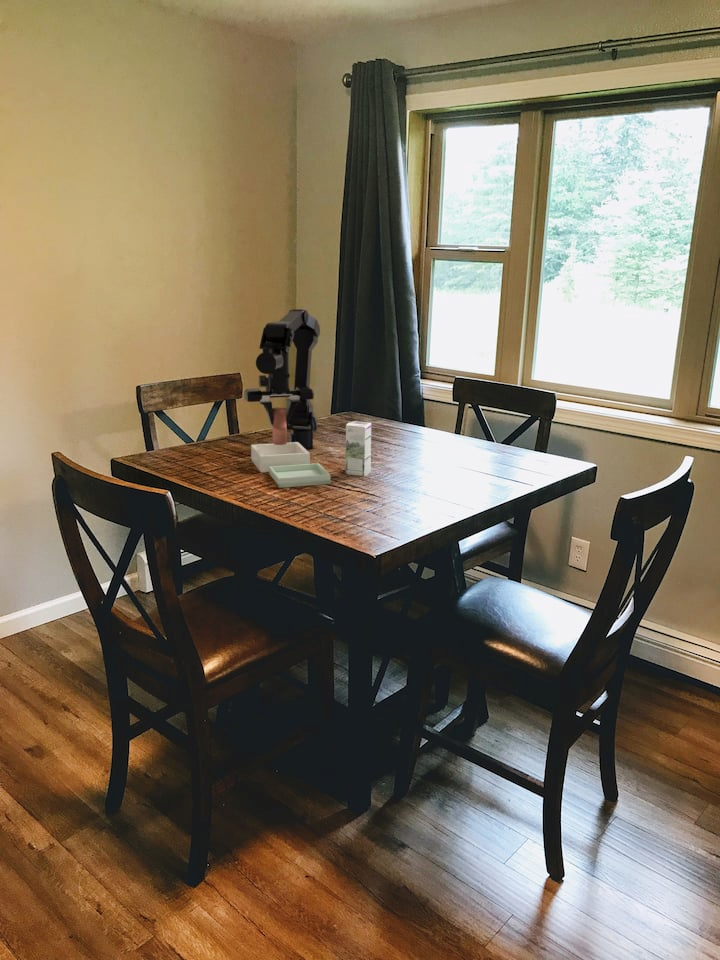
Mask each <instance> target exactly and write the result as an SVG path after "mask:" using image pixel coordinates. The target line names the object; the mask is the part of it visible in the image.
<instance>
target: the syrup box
mask: <svg viewBox="0 0 720 960" xmlns="http://www.w3.org/2000/svg"><path fill="white" fill-rule="evenodd" d="M371 450H372V422H368V421H367V422H365V421H356V420H355V421H353V420H351V421H349V422H348V423H347V424H345V475H351V476H359V477H367V476H368V475H369V474H370V473H371V469H372V468H371V467H372V466H371V465H372V464H371V461H372V459H371V457H372V455H371V452H372V451H371Z"/></svg>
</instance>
